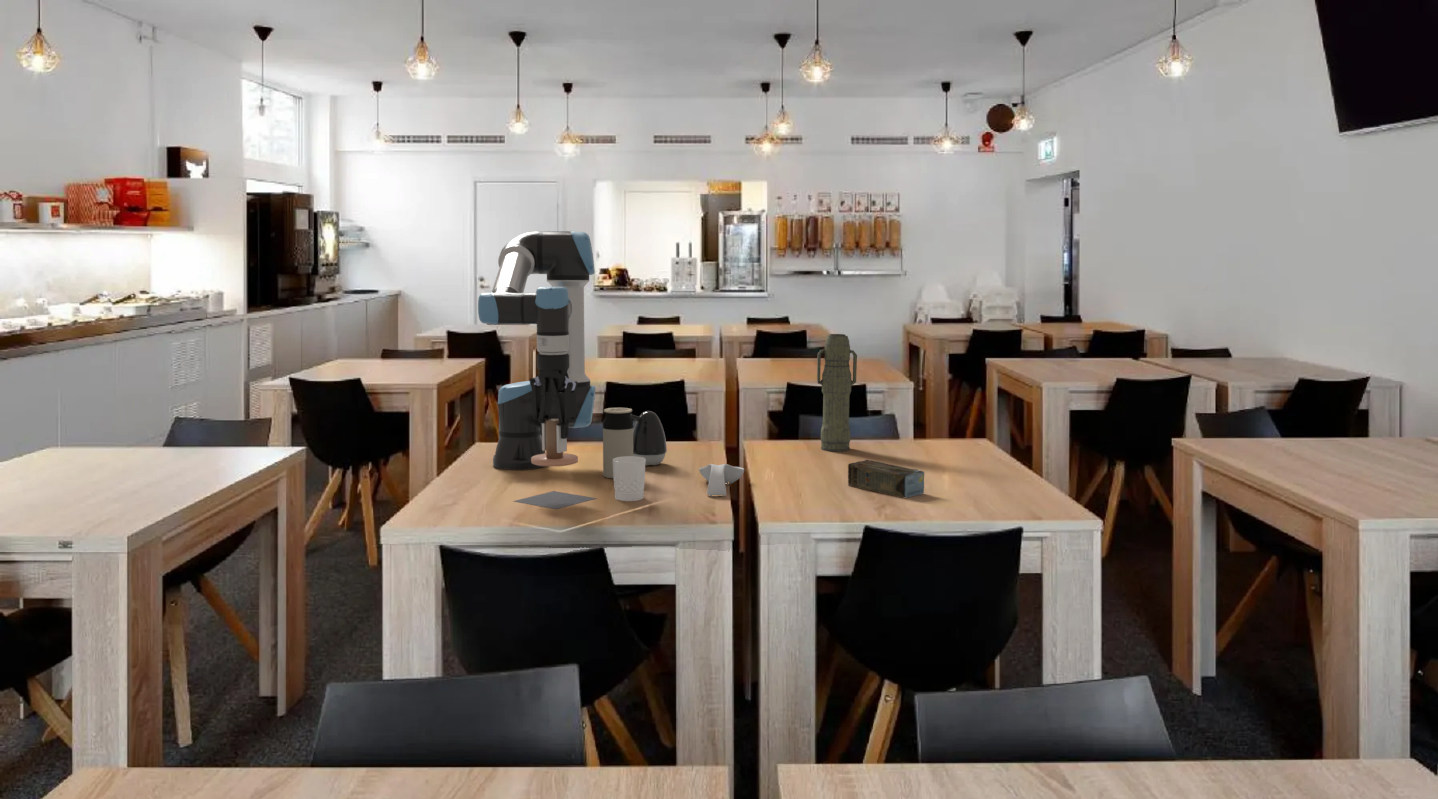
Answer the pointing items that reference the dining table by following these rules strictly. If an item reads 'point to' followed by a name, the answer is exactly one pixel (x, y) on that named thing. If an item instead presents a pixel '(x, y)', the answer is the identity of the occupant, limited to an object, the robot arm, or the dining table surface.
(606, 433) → the travel mug
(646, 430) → the pump dispenser
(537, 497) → the mat
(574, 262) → the robot arm
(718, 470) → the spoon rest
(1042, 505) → the dining table surface
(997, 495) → the dining table surface
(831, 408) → the thermos
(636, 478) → the white cup
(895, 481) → the beverage carton
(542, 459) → the lid
